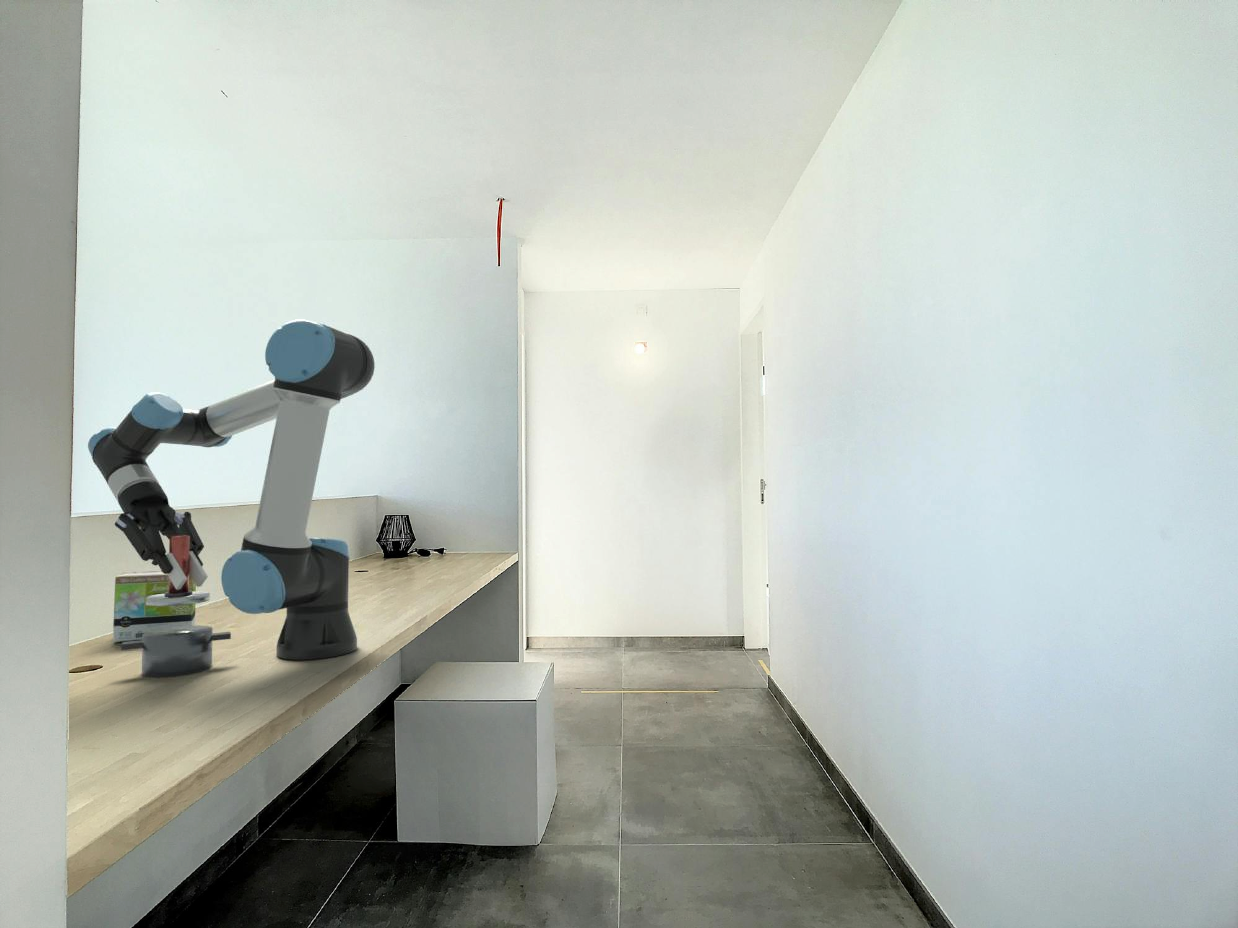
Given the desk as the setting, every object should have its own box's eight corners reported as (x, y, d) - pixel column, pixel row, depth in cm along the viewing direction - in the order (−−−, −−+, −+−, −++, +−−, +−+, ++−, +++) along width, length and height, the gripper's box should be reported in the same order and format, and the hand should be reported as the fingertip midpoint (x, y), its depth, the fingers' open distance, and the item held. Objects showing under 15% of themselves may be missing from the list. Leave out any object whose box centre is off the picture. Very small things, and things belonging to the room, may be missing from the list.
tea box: (112, 644, 153) (113, 576, 153) (120, 635, 162) (121, 571, 162) (192, 636, 160) (193, 571, 160) (195, 629, 169) (196, 567, 169)
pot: (228, 657, 139) (229, 621, 139) (231, 669, 129) (231, 630, 130) (124, 669, 130) (124, 631, 130) (118, 682, 120) (119, 641, 121)
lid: (221, 597, 135) (222, 534, 135) (185, 606, 125) (186, 537, 125) (172, 597, 135) (173, 534, 136) (132, 606, 125) (133, 537, 126)
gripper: (172, 505, 145) (224, 590, 137) (84, 507, 130) (136, 603, 122) (188, 479, 142) (242, 564, 135) (101, 478, 128) (156, 574, 120)
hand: (192, 582), depth 128 cm, fingers closed on lid, 3 cm apart
